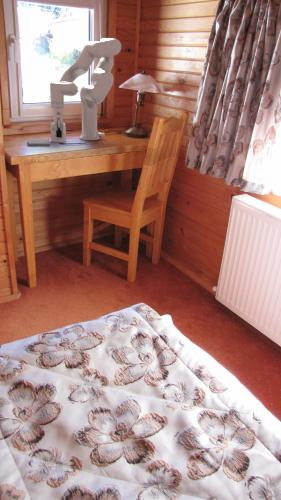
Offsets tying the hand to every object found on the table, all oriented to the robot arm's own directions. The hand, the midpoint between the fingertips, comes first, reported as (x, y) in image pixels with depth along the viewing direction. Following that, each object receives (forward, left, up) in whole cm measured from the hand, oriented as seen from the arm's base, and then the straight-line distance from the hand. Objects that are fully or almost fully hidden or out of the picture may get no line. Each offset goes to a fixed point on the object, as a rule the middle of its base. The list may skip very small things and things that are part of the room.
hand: (58, 135), depth 239 cm
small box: (0, 0, -4) cm, 4 cm away
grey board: (+12, +7, -3) cm, 14 cm away
